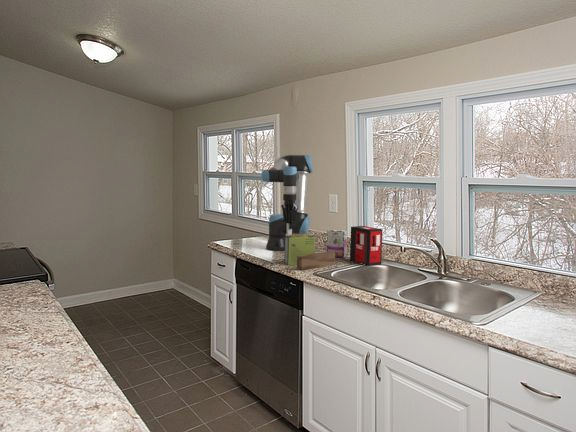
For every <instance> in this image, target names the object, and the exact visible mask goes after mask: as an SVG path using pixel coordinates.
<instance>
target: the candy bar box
mask: <svg viewBox="0 0 576 432" xmlns="http://www.w3.org/2000/svg"><path fill="white" fill-rule="evenodd" d="M326 233H327V234H326V242H327V243H326V252H329V251H330V252H335V259H336V258H339V259H340V258H341V259H344V258H347V242H348V240H347V237H348V235H347V234H348V230H345V229H327V231H326Z"/></svg>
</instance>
